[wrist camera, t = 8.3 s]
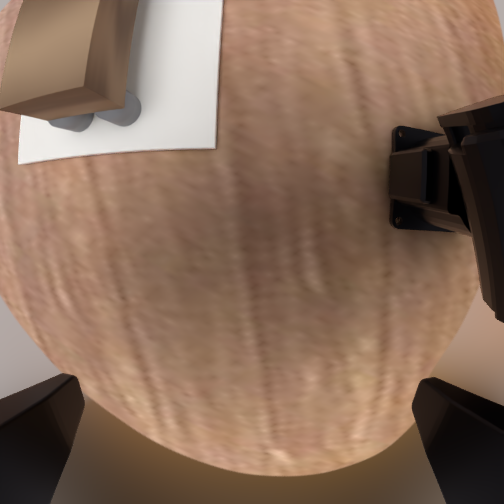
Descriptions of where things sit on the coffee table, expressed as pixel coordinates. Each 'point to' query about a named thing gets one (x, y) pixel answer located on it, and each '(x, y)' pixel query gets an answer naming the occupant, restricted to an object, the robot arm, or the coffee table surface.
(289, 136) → the coffee table surface
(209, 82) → the peg stand
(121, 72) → the walnut board
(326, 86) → the coffee table surface
